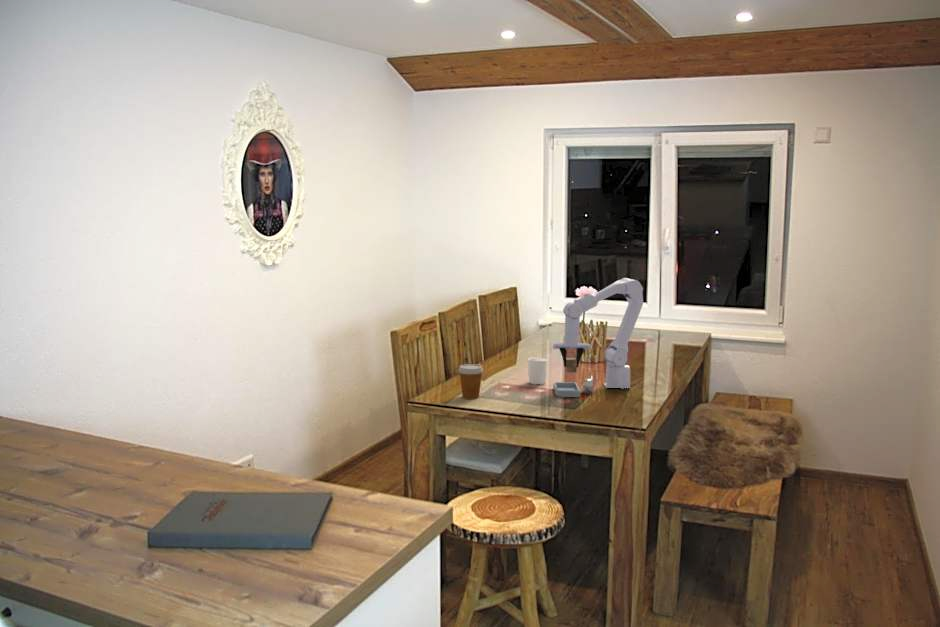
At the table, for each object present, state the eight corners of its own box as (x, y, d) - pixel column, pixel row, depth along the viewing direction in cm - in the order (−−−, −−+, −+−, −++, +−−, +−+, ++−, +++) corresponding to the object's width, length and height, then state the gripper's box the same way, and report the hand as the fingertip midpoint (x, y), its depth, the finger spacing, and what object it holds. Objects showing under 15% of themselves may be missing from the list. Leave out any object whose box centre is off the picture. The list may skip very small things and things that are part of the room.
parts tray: (576, 388, 318) (576, 382, 318) (580, 397, 304) (580, 390, 304) (553, 388, 318) (553, 382, 318) (556, 396, 304) (556, 390, 304)
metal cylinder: (592, 390, 314) (592, 378, 313) (593, 393, 310) (594, 380, 309) (582, 390, 314) (582, 378, 313) (583, 393, 310) (583, 380, 309)
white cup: (545, 385, 323) (546, 361, 321) (526, 384, 324) (526, 360, 323) (547, 381, 330) (548, 357, 329) (528, 380, 332) (529, 356, 330)
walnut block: (575, 370, 318) (575, 357, 317) (576, 372, 314) (576, 360, 313) (565, 370, 318) (565, 357, 317) (566, 372, 314) (566, 359, 313)
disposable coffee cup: (474, 401, 297) (474, 370, 296) (453, 398, 302) (453, 367, 301) (487, 396, 305) (488, 365, 304) (466, 392, 310) (466, 362, 309)
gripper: (554, 334, 310) (553, 368, 312) (591, 335, 310) (590, 369, 312) (553, 331, 317) (552, 364, 319) (589, 331, 317) (588, 365, 319)
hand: (571, 366), depth 316 cm, fingers closed on walnut block, 4 cm apart
